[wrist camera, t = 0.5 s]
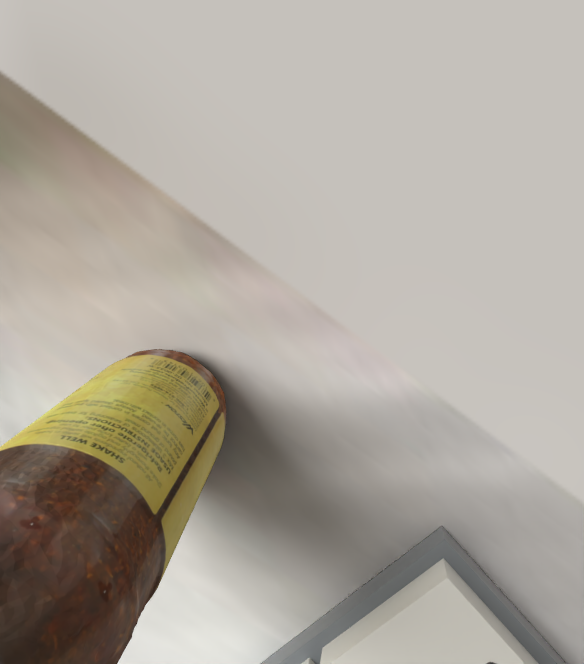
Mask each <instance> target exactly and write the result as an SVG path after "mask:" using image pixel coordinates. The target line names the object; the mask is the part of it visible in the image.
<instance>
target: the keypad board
mask: <svg viewBox="0 0 584 664" xmlns="http://www.w3.org/2000/svg"><path fill="white" fill-rule="evenodd" d="M488 662H494V663H496V664H566V663H565V661H564V660H563V659H562V658H561V657H560V656H559V655H558V654H557V653H556V652H555V650H554V649H553V648H552V647H551V646H550V645H549V644H548V643H547V642H546V640H545V639H544V638H543V637H542V636H541V635H540V634H539V633H538V632H537V631H536V629H535V628H534V627H533V626H532V625H531V624H530V623H529V622H528V621H527V619H526V618H525V617H524V616H523V615H522V614H521V613H520V612H519V611H518V610H517V608H516V607H515V606H514V605H513V604H512V603H511V602H510V601H509V600H508V598H507V597H506V596H505V595H504V594H503V593H502V592H501V591H500V590H499V588H498V587H497V586H496V585H495V584H494V583H493V582H492V581H491V580H490V579H489V577H488V576H487V575H486V574H485V573H484V572H483V571H482V570H481V569H480V567H479V566H478V565H477V564H476V563H475V562H474V561H473V560H472V559H471V558H470V556H469V555H468V554H467V553H466V552H465V551H464V550H463V549H462V548H461V546H460V545H459V544H458V543H457V542H456V541H455V540H454V539H453V538H452V537H451V535H450V534H449V533H448V532H447V531H446V530H445V529H444V528H443V527H442V526H441V527H440V528H439V529H437V530H436V531H435V532H433V533H432V534H431V535H429V536H428V537H427V538H425V539H424V540H423V541H422V542H420V543H419V544H418V545H416V546H415V547H414V548H412V549H411V550H410V551H408V552H407V553H406V554H404V555H403V556H402V557H400V558H399V559H398V560H396V561H395V562H394V563H393V564H391V565H390V566H389V567H387V568H386V569H385V570H383V571H382V572H381V573H379V574H378V575H377V576H375V577H374V578H373V579H371V580H370V581H369V582H367V583H366V584H365V585H364V586H362V587H361V588H360V589H358V590H357V591H356V592H354V593H353V594H352V595H350V596H349V597H348V598H346V599H345V600H344V601H342V602H341V603H340V604H338V605H337V606H336V607H335V608H333V609H332V610H331V611H329V612H328V613H327V614H325V615H324V616H323V617H321V618H320V619H319V620H317V621H316V622H315V623H313V624H312V625H311V626H310V627H308V628H307V629H306V630H304V631H303V632H302V633H300V634H299V635H298V636H296V637H295V638H294V639H292V640H291V641H290V642H288V643H287V644H286V645H284V646H283V647H282V648H281V649H279V650H278V651H277V652H275V653H274V654H273V655H271V656H270V657H269V658H267V659H266V660H265V661H263V662H262V663H261V664H486V663H488Z"/></svg>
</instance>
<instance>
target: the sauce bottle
mask: <svg viewBox="0 0 584 664" xmlns="http://www.w3.org/2000/svg"><path fill="white" fill-rule="evenodd" d="M225 403H226V402H225V397H224V392H223V390H222V389H221V387H220V385H219V383H218V381H217V380H216V378H215V377H214V376H213V375H212V374H211V372H210V371H209V370H207V369H206V368H204V366H202V365H201V364H200V363H199V362H198V361H197V360H195V359H193V358H192V357H190V356H189V355H186V354H184V353H182V352H176V351H173V350H162V349H159V350H157V349H154V350H146V351H140V352H136V353H134V354H132V355H130V356H128V357H126V358H125V359H122V360H120V361H117V362H115V363H114V364H112V365H110V366H109V367H107V368H106V369H105V370H103V371H102V372H100V373H99V374H98V375H96V376H95V377H94V378H92V379H91V380H89V381H88V382H87V383H85V384H84V385H83V386H81V387H80V388H79V389H77V390H76V391H75V392H74V393H72V394H71V395H70V396H68V397H67V398H66V399H64V400H63V401H62V402H60V403H59V404H58V405H56V406H55V407H53V408H52V409H51V410H49V411H48V412H47V413H45V414H44V415H43V416H41V417H40V418H39V419H37V420H36V421H35V422H33V423H32V424H31V425H29V426H28V427H26V428H25V429H24V430H22V431H21V432H20V433H18V434H17V435H16V436H14V437H13V438H12V439H10V440H9V441H8V442H6V443H5V444H4V445H2V446H1V447H0V664H117V663H118V661H119V659H120V658H121V656H122V653H123V651H124V650H125V648H126V646H127V644H128V643H129V641H130V639H131V638H132V633H133V630H134V628H135V626H136V624H137V621H138V618H139V616H140V615H141V612H142V611H143V610H144V607H145V605H146V604H147V602H148V601H149V600H150V599H151V597H152V596H153V594H154V593H155V591H156V589H157V588H158V586H159V583H160V581H161V579H162V577H163V574H164V572H165V570H166V568H167V566H168V563H169V561H170V559H171V557H172V555H173V552H174V550H175V548H176V546H177V544H178V541H179V539H180V537H181V535H182V533H183V531H184V528H185V526H186V524H187V522H188V520H189V517H190V515H191V513H192V511H193V509H194V506H195V504H196V502H197V500H198V497H199V495H200V493H201V491H202V488H203V486H204V484H205V482H206V480H207V478H208V476H209V473H210V471H211V469H212V467H213V464H214V462H215V460H216V458H217V456H218V453H219V451H220V449H221V446H222V443H223V439H224V431H225V426H226V406H225Z"/></svg>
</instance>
